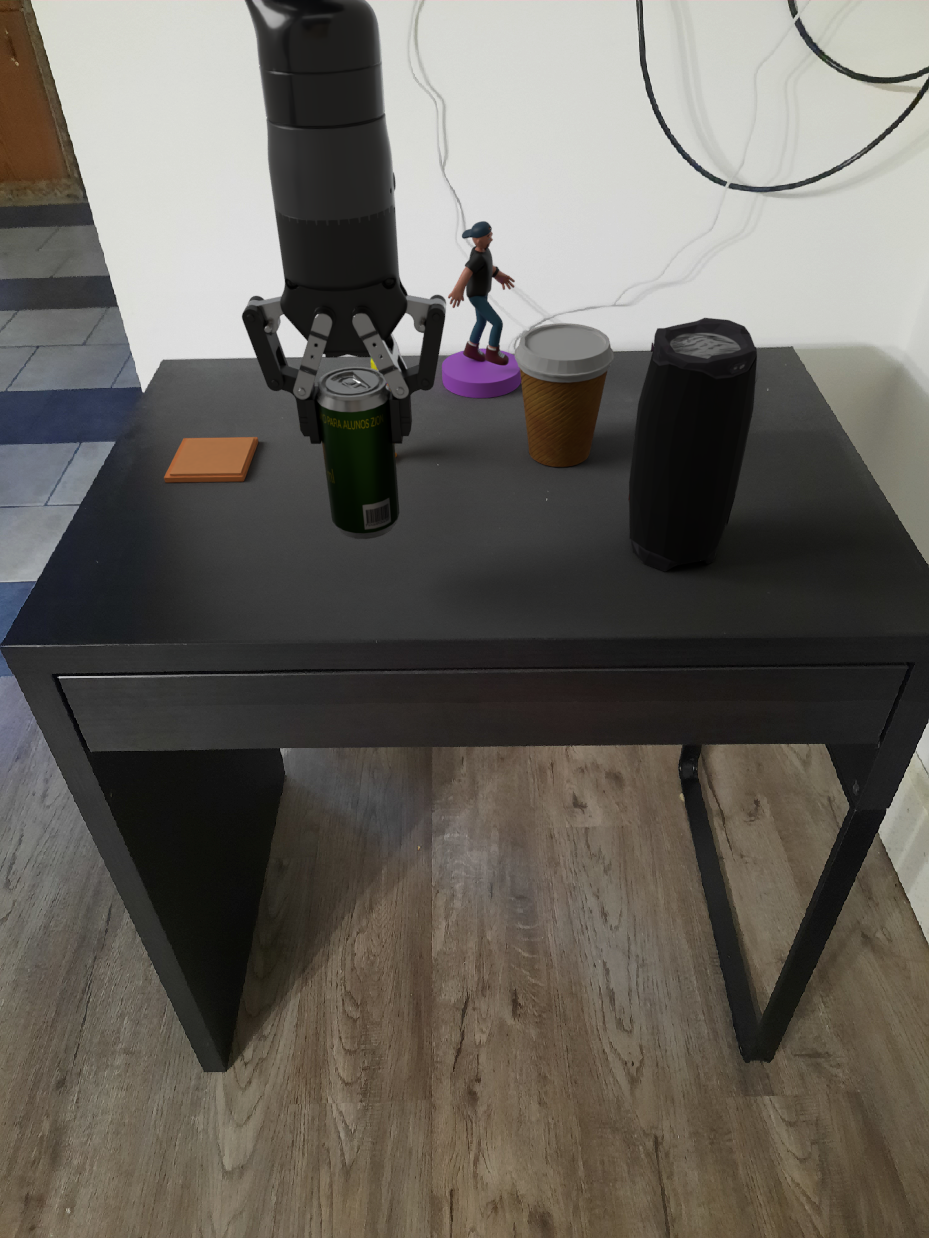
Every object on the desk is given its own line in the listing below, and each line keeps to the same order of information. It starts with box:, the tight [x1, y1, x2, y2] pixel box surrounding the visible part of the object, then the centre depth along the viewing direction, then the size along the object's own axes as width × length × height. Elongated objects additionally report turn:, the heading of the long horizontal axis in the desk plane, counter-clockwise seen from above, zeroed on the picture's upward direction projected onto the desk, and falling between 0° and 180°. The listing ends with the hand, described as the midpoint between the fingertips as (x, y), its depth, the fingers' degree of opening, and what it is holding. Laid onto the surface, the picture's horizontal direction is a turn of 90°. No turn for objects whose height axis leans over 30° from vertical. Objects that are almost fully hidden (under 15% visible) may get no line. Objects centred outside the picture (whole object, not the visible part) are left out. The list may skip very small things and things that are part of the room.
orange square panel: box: [163, 436, 259, 483], centre depth 93 cm, size 8×8×1 cm
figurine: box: [441, 220, 521, 399], centre depth 101 cm, size 9×9×18 cm
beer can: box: [316, 366, 400, 540], centre depth 68 cm, size 5×5×12 cm
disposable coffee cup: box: [514, 322, 615, 468], centre depth 90 cm, size 10×10×12 cm
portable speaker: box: [627, 317, 758, 572], centre depth 74 cm, size 9×9×20 cm
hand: (358, 438), depth 67 cm, fingers closed on beer can, 5 cm apart
